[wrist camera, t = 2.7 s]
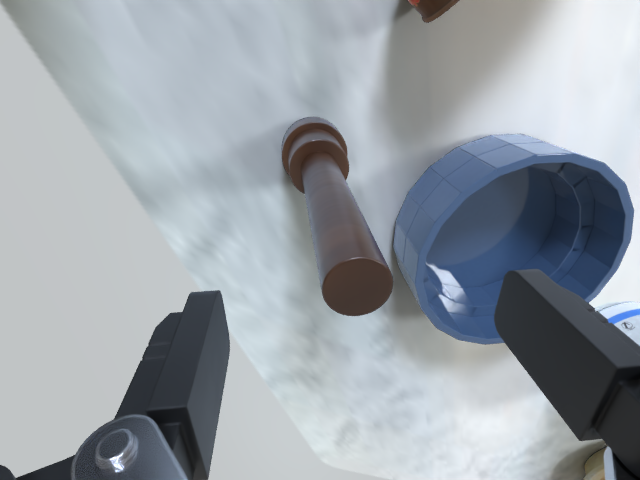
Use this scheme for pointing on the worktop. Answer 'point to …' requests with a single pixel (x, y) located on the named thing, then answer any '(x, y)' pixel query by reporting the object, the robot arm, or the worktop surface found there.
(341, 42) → the worktop surface
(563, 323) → the robot arm
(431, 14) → the tin
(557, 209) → the bowl
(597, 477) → the tableware set
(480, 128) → the worktop surface
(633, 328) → the supplement tub
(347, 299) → the muddler
